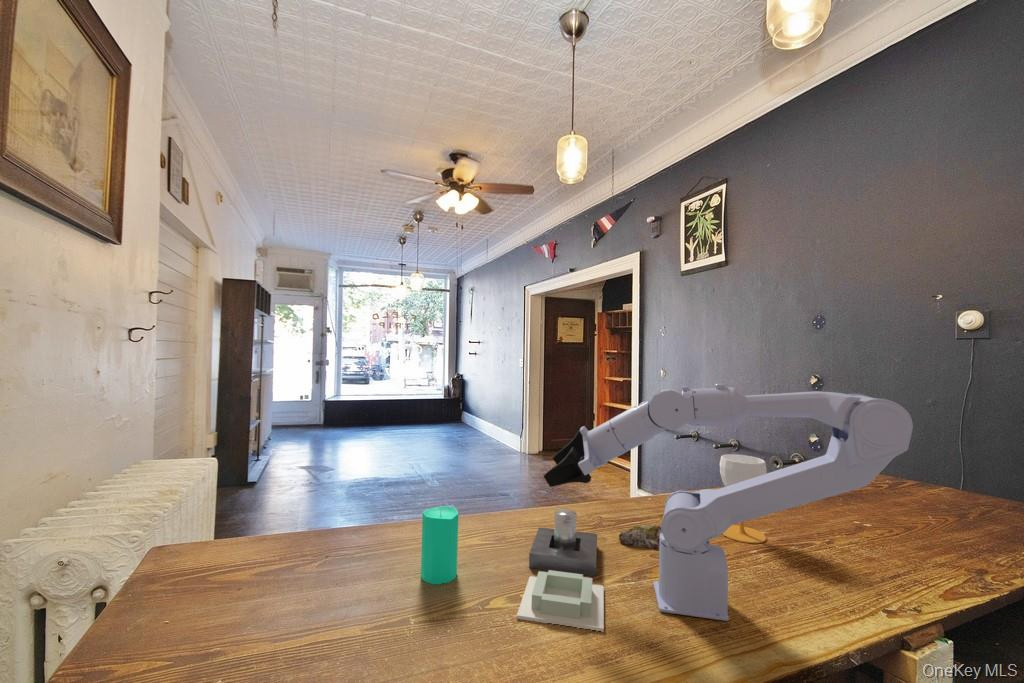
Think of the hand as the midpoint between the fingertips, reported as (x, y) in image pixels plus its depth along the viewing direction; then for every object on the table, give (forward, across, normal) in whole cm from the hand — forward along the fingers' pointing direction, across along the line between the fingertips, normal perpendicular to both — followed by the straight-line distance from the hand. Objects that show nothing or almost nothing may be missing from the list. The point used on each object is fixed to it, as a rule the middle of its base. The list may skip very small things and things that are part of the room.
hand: (551, 471), depth 75 cm
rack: (+5, +12, +15) cm, 20 cm away
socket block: (+8, -3, +16) cm, 18 cm away
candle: (+23, +10, +4) cm, 26 cm away
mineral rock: (-2, -15, +26) cm, 30 cm away
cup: (-18, -26, +38) cm, 49 cm away
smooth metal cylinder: (+8, -3, +16) cm, 18 cm away
